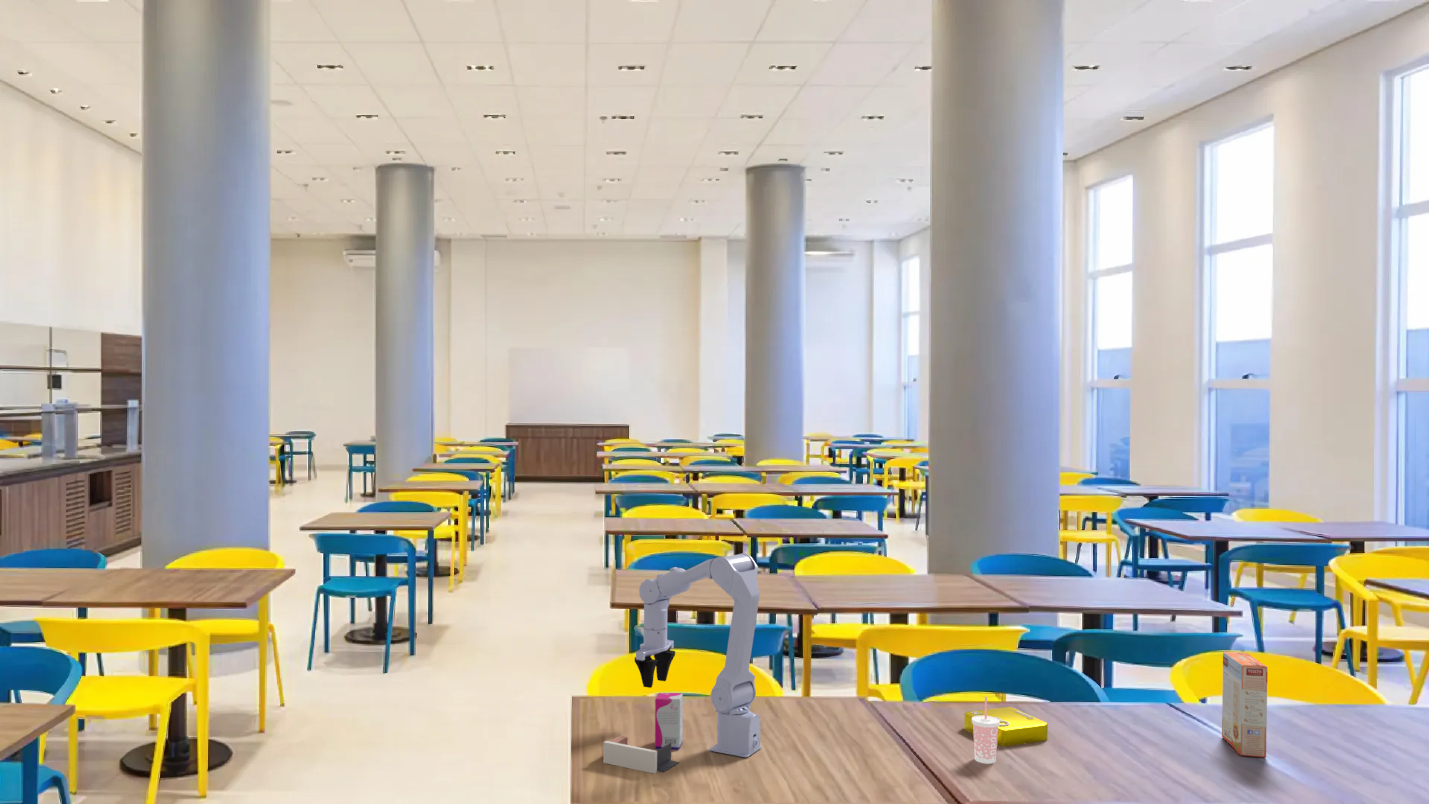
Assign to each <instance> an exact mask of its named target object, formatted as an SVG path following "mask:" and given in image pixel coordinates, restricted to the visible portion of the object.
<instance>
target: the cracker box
mask: <svg viewBox="0 0 1429 804" xmlns="http://www.w3.org/2000/svg"><path fill="white" fill-rule="evenodd" d="M1268 670H1269V669H1268V666H1266V665H1265V664H1264V663H1262V662H1260V660H1258V659H1257V658H1255V657H1254V656H1253V655H1250V654H1249V653H1247V652H1241V651H1236V652H1235V651H1223V652H1222V696H1221V697H1222V698H1221V699H1222V703H1221V705H1222V707H1221V708H1222V709H1221V711H1222V712H1221V714H1222V715H1221V718H1222V719H1221V738H1222V737H1223V738H1224V739H1223V738H1222V739H1223V740H1224V741H1225V740H1226V741H1227V742H1226V741H1225V742H1226V743H1227V744H1228V743H1229V744H1230V745H1231V746H1232V747H1231V748H1232V749H1233V748H1234V749H1233V750H1234V751H1236V752H1237V754H1238V755H1239V756H1243V757H1254V758H1264V759H1265V758H1267V725H1268V724H1267V723H1268V719H1267V718H1268V717H1267V716H1268V715H1267V714H1268ZM1229 744H1228V745H1229ZM1230 745H1229V746H1230Z"/></svg>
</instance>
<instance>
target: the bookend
mask: <svg viewBox="0 0 1429 804" xmlns="http://www.w3.org/2000/svg"><path fill="white" fill-rule="evenodd" d="M656 751H657V772H659V773H666V772H667V771H669V770H670V769H672V768H674V767H675V766H677V765H679V764H680V762H679V761H677V760H672V749H671V743H669V744H667V745H665V746H664V747H662V748H660V749H656Z"/></svg>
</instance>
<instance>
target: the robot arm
mask: <svg viewBox="0 0 1429 804" xmlns="http://www.w3.org/2000/svg"><path fill="white" fill-rule="evenodd" d="M758 572H759V566H758V565H757V563H756V562H755V560H754V558H753V557H752V556H751V555H750V554H748V553H746V552H745V553H744V552H742V553H738V554H733V555H727V556H718V557H716V558H711V559H710V558H709V559H706V560H705V561H703V562H701V563H699V564H697V565H694V566H692V567H690V568H688V569H684V568H681V567H677V566H676V567H670V569H669V571H668V572H666V573H664V574H663V573H659V574H657V575H656V578H652V579H647V578H645V580H644V581H642V582H641V583H640V585H639V590H638V592H639V596H640V600H641V601H642V602H643V643H641V644H639V648H640V649H639V650H637V651H635V657H634V662H635V665H636V666H637V669H638V670H639V675H640V678H641V682H642V686H643V688H648V689H649V688H650V689H651V688H653V685H654V676H655V672H656V679H657V681H659V682H666V681H667V680H668V679H667V678H668V674H669V670H670V667H671V664H672V661H673V660H674V658H675V656H676V651H675V650H672V649H674V648H675V647H674V644H675V643H674V640H671V639H668V609H669V607H670V600H671V599H672V598H674V597H675V596H678V595H680V594H682V593H685V592H688V590H690V588H691V586H692V584H693V583H696V582H699V581H702V580H704V579H707V578H708V579H709V580H713V582H714V583H716V584H717V586H719V587H720V588H721V589H722V590H723V591H724V592H725V593H726V594H728V595H729V597H731V598H732V599H733V607H732V614H731V621H730V627H729V629H730V630H729V635H728V641H727V649H726V655H725V661H724V662H725V663H724V667H723V669H721V671H720V673H718V675H717V677H716V680H715V684H714V685H713V687H712V689H711V692H710V701H711V703H712V706H713V707H714V709H715V712H717V719H716V720H717V721H716V722H717V724H716V725H717V729H716V730H717V734H716V735H717V736H716V738H717V740H716V744H715V745H712V747H710V748H709V751H711V752H716V753H720V754H725V755H731V756H736V757H740V758H741V757H742V758H749V757H750V756H751V755H753V754H754V753H757V751H759V750H760V749H761V748H762V745H761V718H760V716H759V714H757V713H754V712H753V711H751V710H750V709H751V708H752V707H751V705H752V703H753V702H754V701H755V699H756V695H757V690H756V689H757V688H756V686H755V680H756V677H755V676H756V675H754V673H753V672H752V671H751V670H750V663H751V658H752V657H751V656H752V649H753V643H754V638H755V637H754V636H755V632H756V631H755V629H756V623H757V616H758V608H759V604H760V603H759V602H760V589H759V584H758V579H757V578H758ZM652 656H653V657H652ZM653 658H654V659H653ZM655 670H656V671H655Z"/></svg>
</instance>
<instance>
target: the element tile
mask: <svg viewBox="0 0 1429 804" xmlns="http://www.w3.org/2000/svg"><path fill="white" fill-rule="evenodd" d="M963 715H964V716H963V719H964V721H963V726H964V727H963V729H964V731H966V732H968V733H970V734H972V735H974V734H973V723H972V717H974V716H985V709H982V710H981V709H980V710H971V711H965V713H964V714H963ZM987 716H991V717H995V718H997V719H999V720H1000V725H999V726H998V739H997V747H1010V746H1017V745H1025V744H1024V743H1027V744H1033V743H1040V742H1046V741H1048V739H1049V738H1048V737H1049V736H1048V735H1049V734H1048V733H1049V732H1048V727H1049V725H1048V722H1046V721H1044V720H1042V719H1040V718H1038V717H1035V716H1033V715H1030V714H1028V713H1025V712H1024V711H1021V710H1019V709H1017V708H1014V707H1011V706H1005V707H995V708H987Z"/></svg>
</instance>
